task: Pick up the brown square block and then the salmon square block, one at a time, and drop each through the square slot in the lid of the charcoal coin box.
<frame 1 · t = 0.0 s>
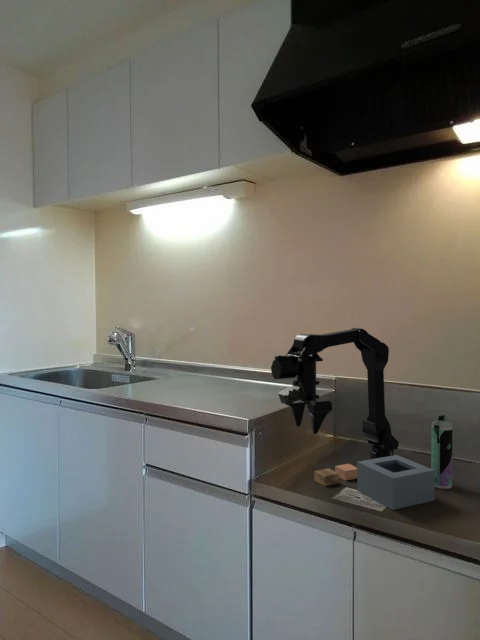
hand: (306, 430, 140), 15 cm above the worktop, tool pointing down, fingers open, 9 cm apart
salmon square block: (347, 477, 143), on the worktop
coin box: (394, 495, 128), on the worktop
spray can: (441, 485, 135), on the worktop
brown square block: (326, 482, 138), on the worktop
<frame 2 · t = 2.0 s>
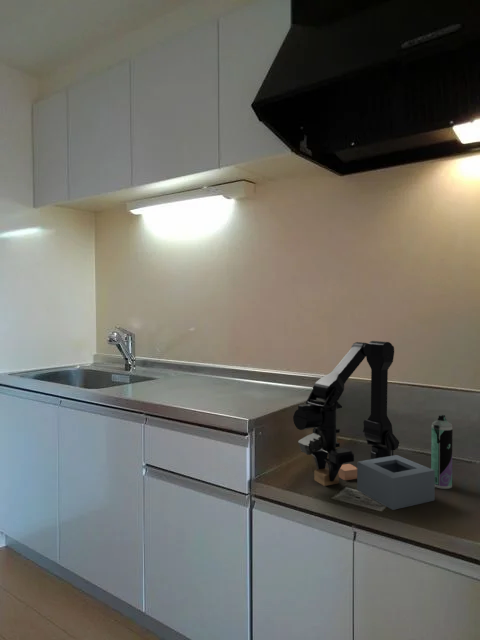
hand: (326, 478, 138), 1 cm above the worktop, tool pointing down, fingers closed on brown square block, 5 cm apart
brown square block: (326, 481, 138), on the worktop, touching gripper
everything else where it was.
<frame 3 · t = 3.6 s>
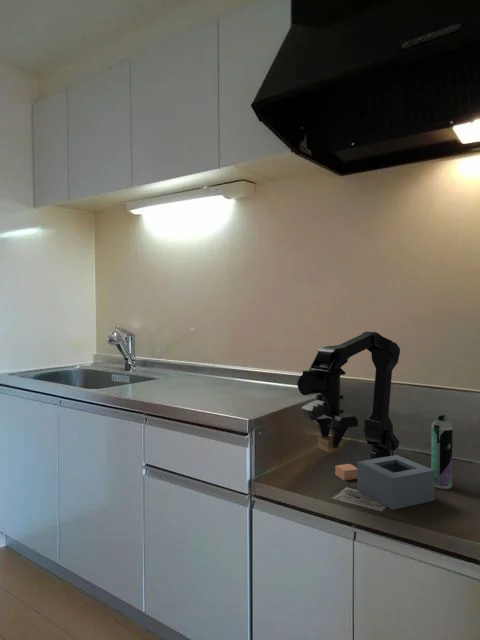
hand: (330, 444, 137), 11 cm above the worktop, tool pointing down, fingers closed on brown square block, 5 cm apart
brown square block: (330, 448, 138), point 10 cm above the worktop, touching gripper
everything else where it was.
when the fingers open (10 cm above the worktop, at t = 5.4 s): brown square block drops 8 cm, resting on coin box.
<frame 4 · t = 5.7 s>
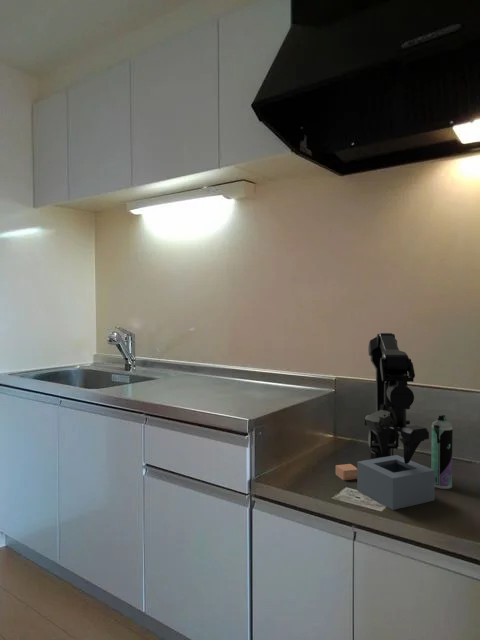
hand: (394, 458, 128), 10 cm above the worktop, tool pointing down, fingers open, 8 cm apart
brown square block: (394, 493, 128), resting on coin box
everything else where it was.
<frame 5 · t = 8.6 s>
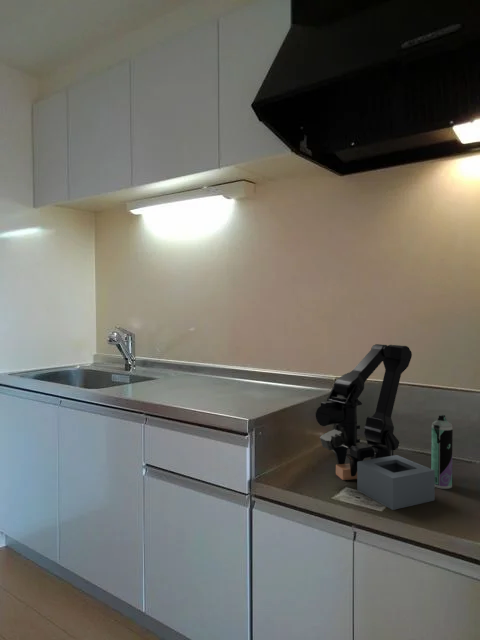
hand: (347, 472, 142), 1 cm above the worktop, tool pointing down, fingers closed on salmon square block, 5 cm apart
salmon square block: (347, 476, 143), on the worktop, touching gripper
everything else where it was.
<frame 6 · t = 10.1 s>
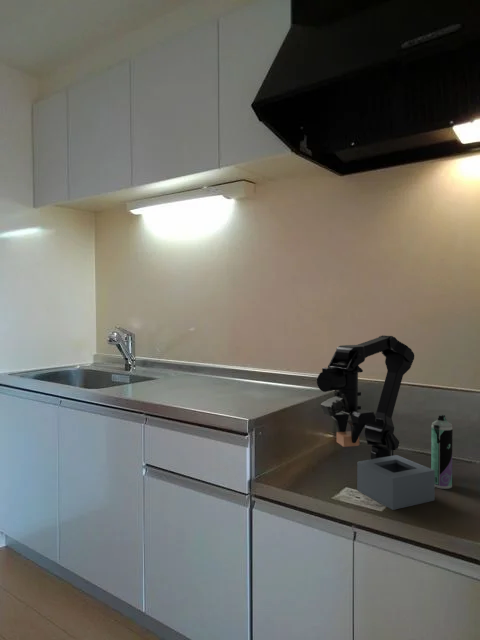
hand: (347, 440, 142), 11 cm above the worktop, tool pointing down, fingers closed on salmon square block, 5 cm apart
salmon square block: (347, 443, 142), point 10 cm above the worktop, touching gripper
everything else where it was.
when the fingers open (10 cm above the worktop, at t = 11.9 s): salmon square block drops 5 cm, resting on brown square block.
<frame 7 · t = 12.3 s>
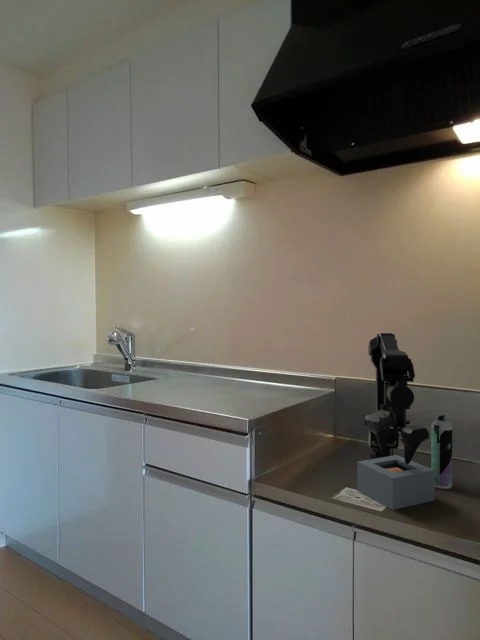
hand: (394, 458, 128), 10 cm above the worktop, tool pointing down, fingers open, 9 cm apart
salmon square block: (394, 482, 128), point 3 cm above the worktop, touching brown square block
brown square block: (394, 493, 128), resting on coin box, touching salmon square block
everything else where it was.
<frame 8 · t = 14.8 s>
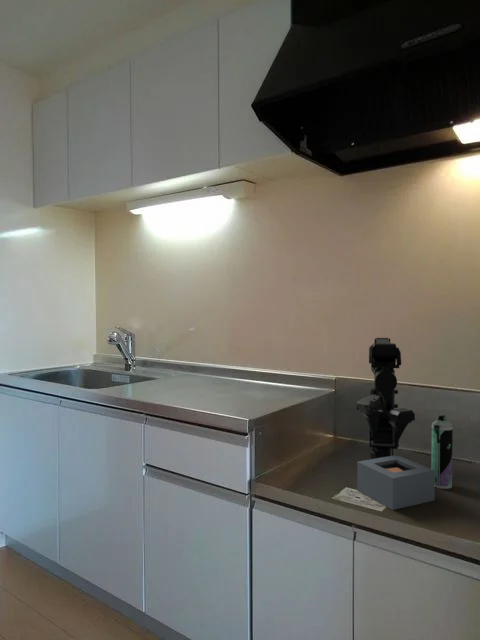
hand: (384, 439, 139), 12 cm above the worktop, tool pointing down, fingers open, 9 cm apart
nothing on the worktop moved.
at the end: brown square block inside the target area on the coin box (0.0 cm from its centre), point 0.5 cm above the coin box's base; salmon square block inside the target area on the coin box (0.1 cm from its centre), point 3.5 cm above the coin box's base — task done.
